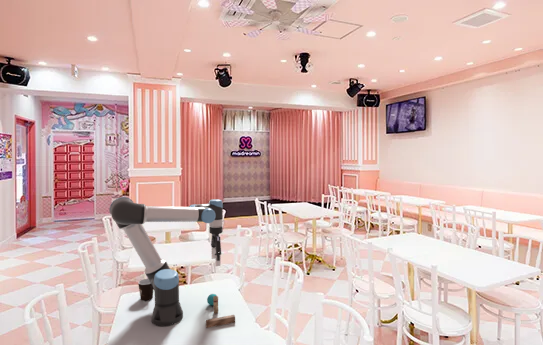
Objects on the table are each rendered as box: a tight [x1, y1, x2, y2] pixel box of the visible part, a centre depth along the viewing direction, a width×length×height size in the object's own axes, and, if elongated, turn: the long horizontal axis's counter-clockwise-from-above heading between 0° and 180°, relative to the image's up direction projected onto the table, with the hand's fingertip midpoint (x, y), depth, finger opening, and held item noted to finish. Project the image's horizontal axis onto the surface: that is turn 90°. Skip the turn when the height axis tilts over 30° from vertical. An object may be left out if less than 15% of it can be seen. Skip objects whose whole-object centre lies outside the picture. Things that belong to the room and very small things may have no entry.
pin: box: [213, 295, 219, 315], centre depth 166 cm, size 2×2×8 cm
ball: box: [206, 293, 218, 307], centre depth 175 cm, size 6×6×6 cm
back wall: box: [205, 314, 236, 329], centre depth 155 cm, size 14×2×3 cm, turn 111°
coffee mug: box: [137, 278, 154, 302], centre depth 181 cm, size 12×9×10 cm
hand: (215, 262), depth 186 cm, fingers open, 13 cm apart
